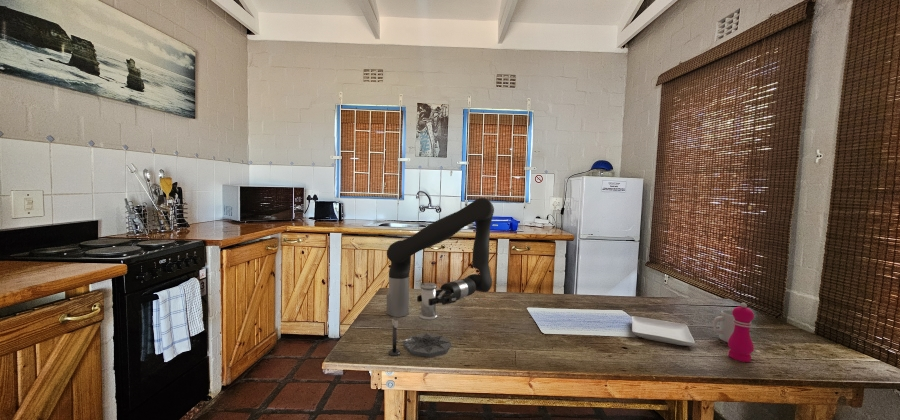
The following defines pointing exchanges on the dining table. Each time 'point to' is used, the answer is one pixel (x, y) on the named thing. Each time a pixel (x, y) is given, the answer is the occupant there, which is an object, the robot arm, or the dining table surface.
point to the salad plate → (662, 331)
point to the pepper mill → (741, 334)
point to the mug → (724, 325)
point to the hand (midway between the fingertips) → (423, 300)
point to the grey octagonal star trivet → (427, 345)
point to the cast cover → (426, 309)
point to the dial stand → (395, 339)
